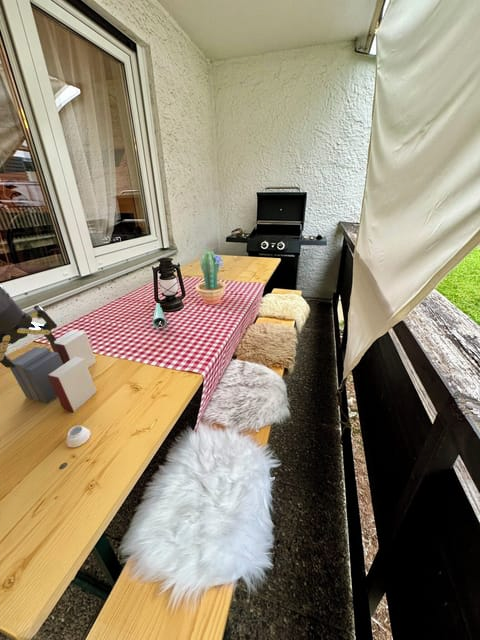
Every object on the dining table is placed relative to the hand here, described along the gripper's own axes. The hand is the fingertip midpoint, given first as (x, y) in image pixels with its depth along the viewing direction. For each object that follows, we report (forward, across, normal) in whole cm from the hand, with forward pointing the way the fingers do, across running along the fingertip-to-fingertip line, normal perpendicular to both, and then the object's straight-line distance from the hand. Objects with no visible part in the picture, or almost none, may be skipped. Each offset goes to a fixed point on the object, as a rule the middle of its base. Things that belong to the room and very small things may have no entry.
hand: (33, 353), depth 60 cm
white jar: (+14, +4, +18) cm, 23 cm away
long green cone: (+37, -44, -20) cm, 61 cm away
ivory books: (+25, -6, -10) cm, 28 cm away
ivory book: (+19, -1, +5) cm, 20 cm away
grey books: (+22, +4, -6) cm, 23 cm away
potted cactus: (+41, -70, -12) cm, 82 cm away
